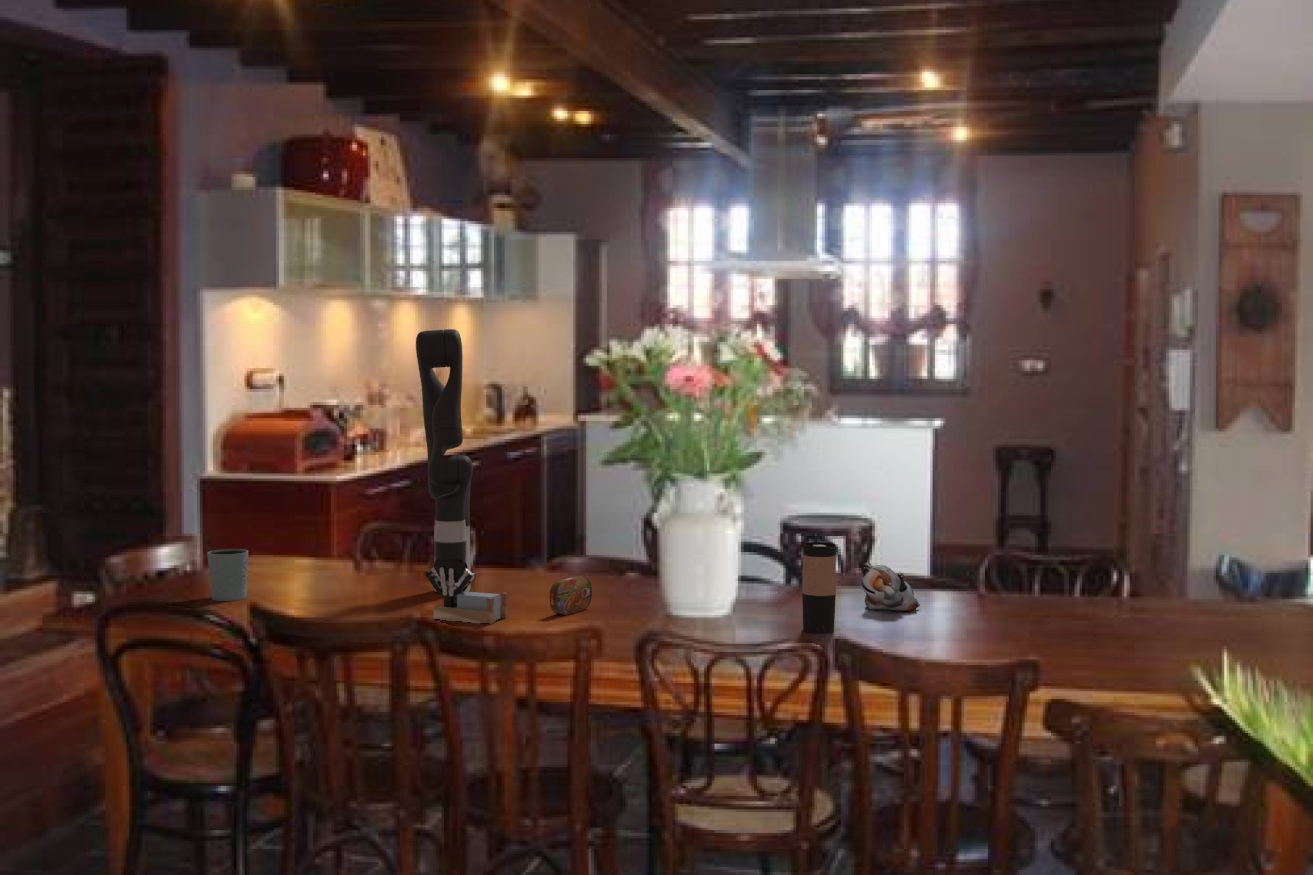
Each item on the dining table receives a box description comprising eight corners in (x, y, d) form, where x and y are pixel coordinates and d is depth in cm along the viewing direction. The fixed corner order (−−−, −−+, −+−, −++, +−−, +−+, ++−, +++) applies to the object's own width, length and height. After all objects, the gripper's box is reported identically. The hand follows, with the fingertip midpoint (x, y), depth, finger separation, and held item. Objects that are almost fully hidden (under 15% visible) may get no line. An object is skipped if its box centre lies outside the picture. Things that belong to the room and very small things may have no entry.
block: (466, 616, 368) (466, 591, 367) (500, 619, 364) (500, 594, 364) (457, 619, 363) (457, 594, 363) (491, 622, 360) (491, 597, 360)
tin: (557, 617, 367) (557, 582, 366) (546, 616, 369) (546, 581, 368) (593, 607, 380) (593, 574, 379) (582, 606, 382) (582, 573, 381)
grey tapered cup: (237, 602, 384) (236, 554, 383) (200, 600, 386) (199, 553, 385) (255, 595, 394) (255, 549, 393) (219, 593, 396) (218, 547, 395)
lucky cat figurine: (928, 611, 377) (916, 566, 370) (885, 632, 375) (872, 586, 368) (899, 584, 390) (887, 540, 384) (858, 604, 388) (845, 560, 381)
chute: (451, 613, 371) (451, 588, 371) (508, 617, 366) (508, 592, 366) (433, 619, 363) (433, 594, 363) (491, 624, 358) (491, 598, 357)
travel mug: (799, 627, 357) (800, 541, 355) (831, 626, 357) (832, 541, 356) (805, 633, 349) (806, 546, 348) (838, 633, 350) (839, 546, 348)
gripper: (482, 538, 366) (482, 610, 367) (433, 535, 371) (433, 606, 372) (467, 542, 359) (467, 615, 360) (418, 539, 364) (418, 611, 365)
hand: (450, 610), depth 366 cm, fingers closed
